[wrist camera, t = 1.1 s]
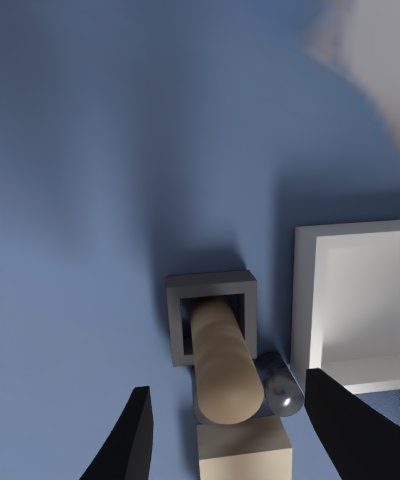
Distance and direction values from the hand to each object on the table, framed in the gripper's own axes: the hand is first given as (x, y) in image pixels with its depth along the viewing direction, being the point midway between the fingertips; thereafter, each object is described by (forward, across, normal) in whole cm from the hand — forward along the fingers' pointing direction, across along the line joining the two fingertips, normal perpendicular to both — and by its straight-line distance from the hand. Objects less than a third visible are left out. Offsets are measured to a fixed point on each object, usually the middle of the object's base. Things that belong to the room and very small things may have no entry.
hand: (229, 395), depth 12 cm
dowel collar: (+8, 0, 0) cm, 8 cm away
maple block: (+8, -2, +14) cm, 16 cm away
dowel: (+8, 0, 0) cm, 8 cm away
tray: (+8, -12, 0) cm, 14 cm away
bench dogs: (+8, -2, +5) cm, 10 cm away
